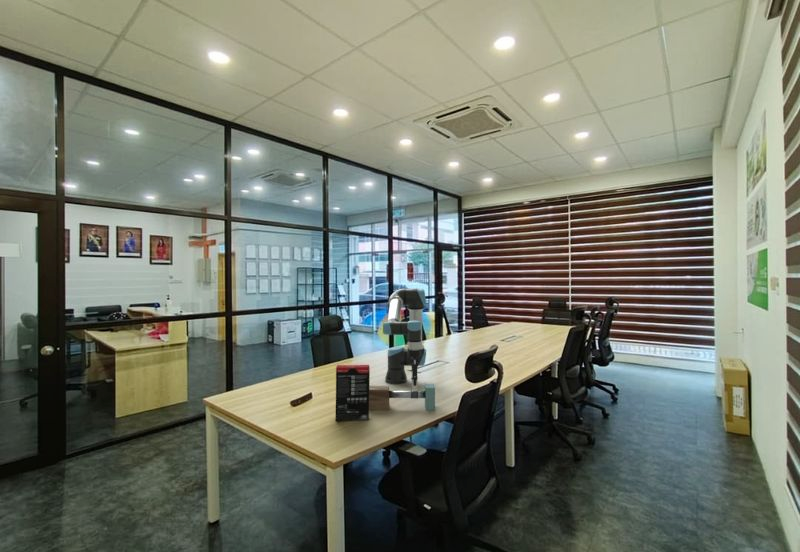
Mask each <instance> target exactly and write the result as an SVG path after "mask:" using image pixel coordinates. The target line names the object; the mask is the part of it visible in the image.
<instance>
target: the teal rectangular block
mask: <svg viewBox="0 0 800 552" xmlns="http://www.w3.org/2000/svg"><path fill="white" fill-rule="evenodd" d="M424 391H426V398H424V408H425V411H435V410H436V387H435V384H434V383H424Z"/></svg>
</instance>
